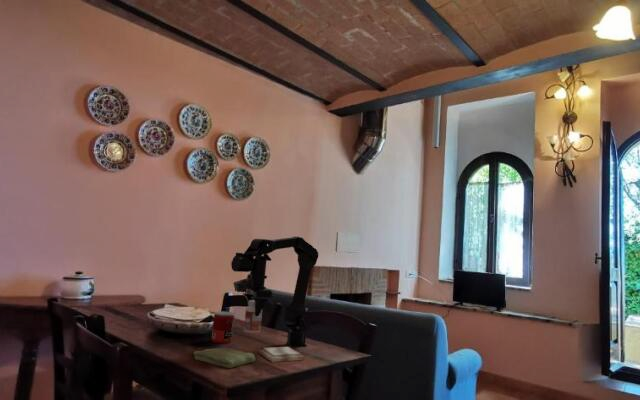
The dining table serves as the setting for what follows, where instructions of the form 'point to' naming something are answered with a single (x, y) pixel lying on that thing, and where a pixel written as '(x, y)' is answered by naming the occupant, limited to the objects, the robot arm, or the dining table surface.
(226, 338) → the canned food
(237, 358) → the washcloth
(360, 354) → the dining table surface
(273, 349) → the stand
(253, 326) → the pill bottle
